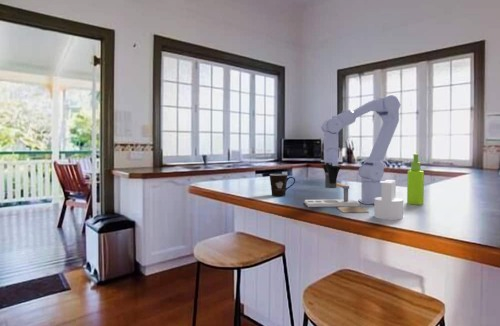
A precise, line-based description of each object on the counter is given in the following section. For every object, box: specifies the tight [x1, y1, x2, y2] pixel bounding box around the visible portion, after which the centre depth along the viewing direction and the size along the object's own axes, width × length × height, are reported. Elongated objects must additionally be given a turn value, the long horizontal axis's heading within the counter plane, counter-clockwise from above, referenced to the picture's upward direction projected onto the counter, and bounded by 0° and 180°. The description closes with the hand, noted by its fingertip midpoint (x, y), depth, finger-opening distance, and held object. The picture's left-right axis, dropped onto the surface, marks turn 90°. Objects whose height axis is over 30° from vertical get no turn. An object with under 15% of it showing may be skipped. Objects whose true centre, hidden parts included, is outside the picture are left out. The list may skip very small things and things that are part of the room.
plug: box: [324, 172, 338, 189], centre depth 136 cm, size 5×5×6 cm
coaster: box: [336, 206, 369, 214], centre depth 124 cm, size 9×9×1 cm
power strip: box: [304, 189, 360, 208], centre depth 136 cm, size 20×9×6 cm, turn 89°
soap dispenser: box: [406, 153, 425, 206], centre depth 135 cm, size 6×7×20 cm
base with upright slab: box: [373, 179, 404, 221], centre depth 113 cm, size 9×9×12 cm
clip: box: [336, 182, 350, 190], centre depth 141 cm, size 12×3×1 cm, turn 5°
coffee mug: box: [269, 173, 296, 197], centre depth 160 cm, size 12×9×10 cm
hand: (331, 182), depth 136 cm, fingers closed on plug, 5 cm apart
